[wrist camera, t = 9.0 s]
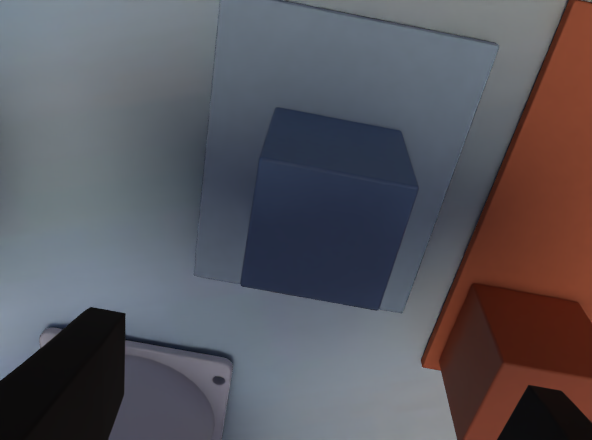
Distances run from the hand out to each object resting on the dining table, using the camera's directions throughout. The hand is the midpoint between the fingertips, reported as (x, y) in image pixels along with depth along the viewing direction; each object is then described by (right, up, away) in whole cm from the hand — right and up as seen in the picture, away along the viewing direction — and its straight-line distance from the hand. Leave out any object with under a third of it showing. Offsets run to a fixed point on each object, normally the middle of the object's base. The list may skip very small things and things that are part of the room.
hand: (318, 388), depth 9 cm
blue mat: (+1, +5, +8) cm, 9 cm away
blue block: (+1, +5, +8) cm, 9 cm away
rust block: (+8, -1, +11) cm, 13 cm away
